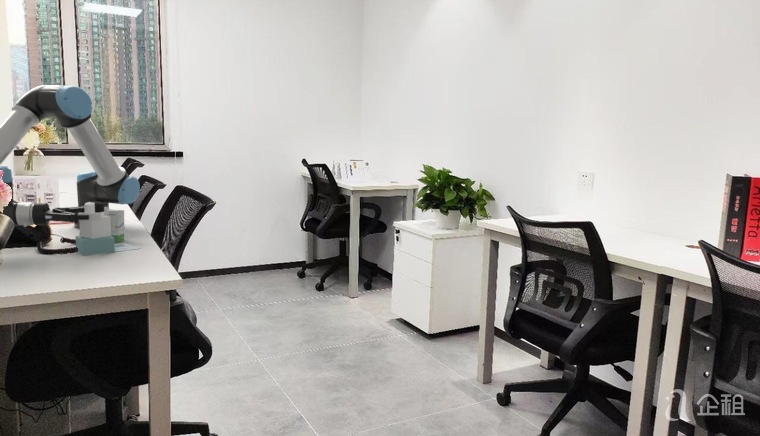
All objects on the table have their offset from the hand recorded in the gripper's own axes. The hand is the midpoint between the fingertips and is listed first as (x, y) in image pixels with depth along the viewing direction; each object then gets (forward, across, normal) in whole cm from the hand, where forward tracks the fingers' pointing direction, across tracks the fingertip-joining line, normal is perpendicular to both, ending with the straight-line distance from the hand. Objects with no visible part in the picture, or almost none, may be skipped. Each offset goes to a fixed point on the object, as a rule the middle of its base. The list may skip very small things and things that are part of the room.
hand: (104, 213), depth 194 cm
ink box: (-1, -18, -13) cm, 23 cm away
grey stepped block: (-3, 0, -8) cm, 9 cm away
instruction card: (+4, -5, -13) cm, 15 cm away
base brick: (-3, 0, -13) cm, 13 cm away
